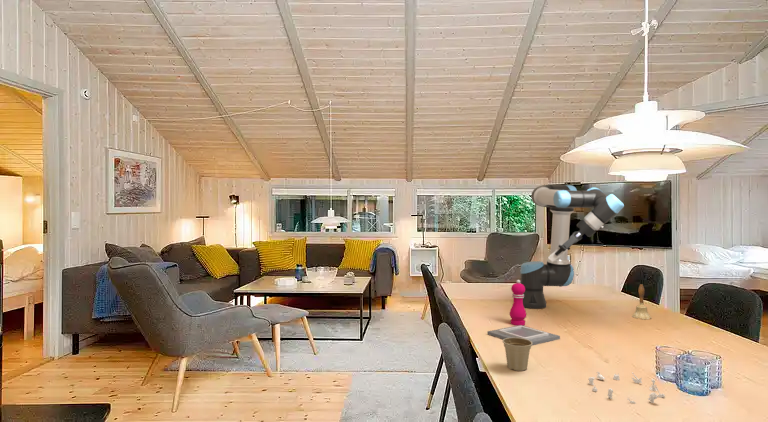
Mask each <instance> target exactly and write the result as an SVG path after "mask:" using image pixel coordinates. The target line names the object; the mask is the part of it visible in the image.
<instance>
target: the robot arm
mask: <svg viewBox="0 0 768 422" xmlns="http://www.w3.org/2000/svg"><path fill="white" fill-rule="evenodd" d="M530 195H531V196H530V197H531V201H532V202H533V204H534V205H536V206H539V207H542V208H549V211H550V212H551V213H552V219H551V220H552V224H551V225H552V226H551V239H550V252H549V253H550V254H549V256H548V257H547V258H548V259H546V264H545V263H544V261H542V260H541V261H540V260H539V261H528V262H523V263H522V264H521V265H520V270H519V274H520V279H519V280H520V283H521V284H523V285H524V286H525V292H524V293H523V294H524V298H523V306H524V309H526V308H527V309H545V308H547V301H546V297H545V294H544V287H567V286H570V285H571V284H572V282H573V280H574V275H575V272H574V267H573V265H572V264H571V261H570V260H569V259H568V251H570V250H571V246H573V244H576V243H578V242H580V241H581V240H582V239H583V236H584V235H585V236H587V237H589V238H591V237H593V235H594V234H595V233H597V232H596V231H599V230H600V228H601V229H604V225H606V224H607V223H608V222H609V221H610V220H611V219H613V218H614V217H615V216H616V215H618V214H619V212H621V210H623V209H624V207H625V205H624V202H622V201H621V200H620V199H619V198H618V197H617V196H616V195H614V194H613V193H611V194H608V195H607V194H606V193H605V192H604V191H603V190H601V189H600V188H598V187H590V188H588V189H587V190H577V188H576V186H574V185H570V184H543V185H542V184H541V185H539V186H536V187H535V188H534V189H533V190H532V192H531V194H530ZM577 208H579V209H583V208H584V209H592V210H591V211H590V212H588V213H587V214H586V215H585V216H584V218H583V219H581V220H580V221H578V223H577V224H576V227H577V228H578V229H579V230H578V231H574V232H572V234H571V235H570V225H571V214H572V213H574V212H575V210H574V209H577Z"/></svg>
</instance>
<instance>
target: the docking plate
mask: <svg viewBox="0 0 768 422" xmlns="http://www.w3.org/2000/svg"><path fill="white" fill-rule="evenodd" d="M487 335H489V336H492V337H495V338H498V339H501V340H503V339H506V338H523V339H527V340H530V341H531V342H532V343H533V344H532V345H531V347H533V346H536V345H540V344H544V343H549V342H554V341H557V340H560V339H561V336H560V335H558V334H555V333H550V332H547V331H544V330H540V329H535V328H534V327H530V326H525V325H523V326H522V325H518V326H516V325H513V326H509V327H504V328H497V329H494V330H488V331H487Z"/></svg>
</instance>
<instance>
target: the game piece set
mask: <svg viewBox="0 0 768 422" xmlns="http://www.w3.org/2000/svg"><path fill="white" fill-rule="evenodd" d="M596 374H597V375H596V378H598V379H599V381H600V380H606V378H605V376H603V375H602V374H601V372H600V371H597V372H596ZM631 374H633V375H632V377H631V379H632V381H633V382H634V383H635V384H643V382H642V379H643V377H640V378H638V377H637V376H636V375H635V374H634V371H633V372H631ZM633 376H634V377H633ZM612 379H613V380H615V381H620V380H621V378H620V374H619V373H614V374H613V378H612ZM594 380H595V376H589V377H588V385H591V386H593V387H592V388H591V391H592V392H595V393H596V392H598V388H597V387H596V385H595V383H594ZM651 382H652V385H651V386H649V390H650V391H652V392H651V393H649V394H648V396H649V397H648V398H647V399H648V401H649V402H650V403H651V404H654V403H655V400H656V399H658V398H661V399H662V398H665V397H666V394H665V393H660V390H659V387H658V386H657V385H656V384H655V383H656V380H655V379H654V378H651ZM656 392H658V394H657V393H656ZM613 393H614V390H613V389H612V388H611V387H609V388H608V390H607V396H608V397H607V398H608V399H612V398H613ZM627 400H628V401H629V403H630V404H637V403H636V401H634V400H630V398H628V397H627Z"/></svg>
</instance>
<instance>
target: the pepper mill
mask: <svg viewBox="0 0 768 422" xmlns="http://www.w3.org/2000/svg"><path fill="white" fill-rule="evenodd" d="M520 280H521V279H516V282H515V283H513V284H512V285H511V288H510V289H511V292H512V298H513V301H512V302H513V303H512V306H511V308H510V310H509V317H510V318H511V319H510V325H513V326H518V325H522V326H525V325H526V320H525V318H527V312H526V308H525V307H524V306H523V298H524V294H523V293H524V292H525V286H524V285H523V284H521V283H520Z"/></svg>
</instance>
